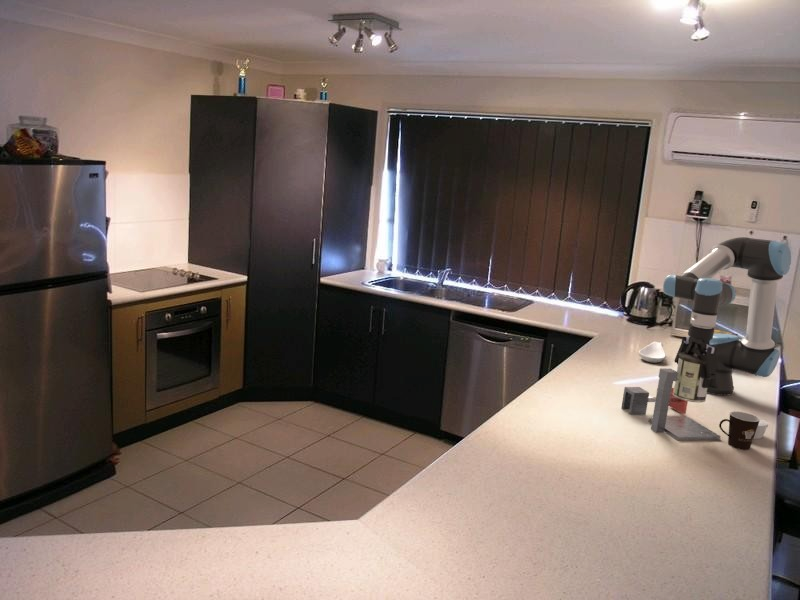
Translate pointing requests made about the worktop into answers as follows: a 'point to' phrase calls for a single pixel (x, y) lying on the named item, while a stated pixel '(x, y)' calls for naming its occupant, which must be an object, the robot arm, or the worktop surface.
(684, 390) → the coffee can
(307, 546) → the worktop surface
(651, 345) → the spoon rest
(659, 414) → the press
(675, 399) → the lever
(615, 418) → the worktop surface
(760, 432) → the ramekin
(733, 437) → the coffee mug
